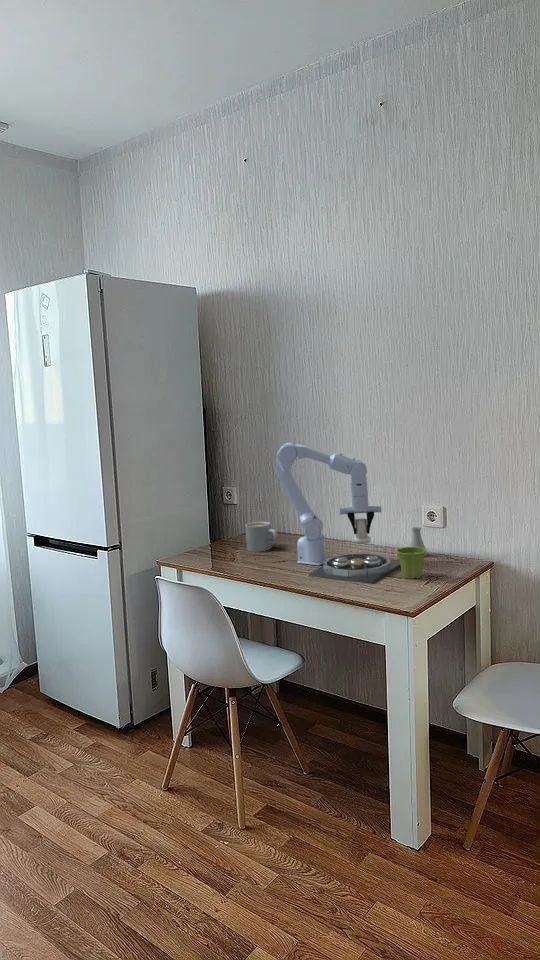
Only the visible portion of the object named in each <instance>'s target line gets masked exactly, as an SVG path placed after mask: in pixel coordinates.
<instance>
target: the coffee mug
mask: <svg viewBox="0 0 540 960" xmlns="http://www.w3.org/2000/svg"><path fill="white" fill-rule="evenodd" d="M244 526H245V527H244V529H245V541H246V550H248V551H247V552H249V551H252V552H251V553H261V552H260V551H264V552H267V551H266V550H268V551H270V550H269V549H271V548H272V549H273V545H275V544H276V543H277V542H278V537H279V536H278V532H277V530H276V529H273V528H271V522H268V521H254V522H249V523H246V524H245V525H244ZM272 534H273V539H272ZM272 549H271V550H272Z"/></svg>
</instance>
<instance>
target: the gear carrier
mask: <svg viewBox="0 0 540 960" xmlns="http://www.w3.org/2000/svg"><path fill="white" fill-rule="evenodd" d="M399 568H401V565H400V560H391V559H390V557H388V556H385V555H382V554H379V553H369V552H358V553H357V552H356V553H344V554H340V555H339V554H338V555H334V556H333V555H332V556H331V557H329V558H328V559H326V560H324V563H323V564H322V566H320V567H318V568H316V569H315V570H312V571H310V572H308V576H309V577H314V578H323V579H332V580H340V581H347V582H356V583H364V584H374V583H376V582H378V581H379V580H381V579H383V578H384V577H386V576H388V575H389V574H391V573H393V572H395V571H396V570H398V569H399Z"/></svg>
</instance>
